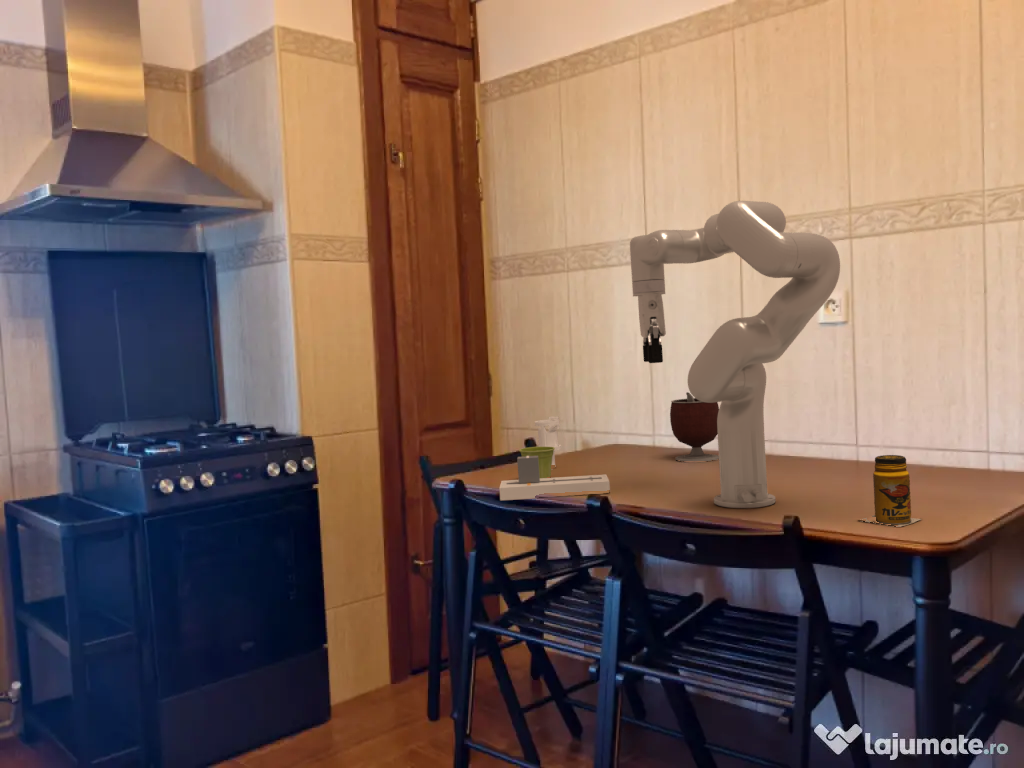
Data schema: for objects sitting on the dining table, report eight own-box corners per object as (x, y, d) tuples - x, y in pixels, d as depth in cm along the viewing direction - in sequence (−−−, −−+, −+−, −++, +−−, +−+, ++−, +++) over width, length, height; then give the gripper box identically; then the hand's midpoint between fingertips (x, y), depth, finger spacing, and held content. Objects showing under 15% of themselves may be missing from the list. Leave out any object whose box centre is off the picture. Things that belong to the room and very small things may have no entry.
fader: (539, 482, 203) (537, 457, 203) (518, 483, 204) (517, 458, 203) (539, 480, 207) (538, 455, 206) (519, 481, 207) (517, 456, 206)
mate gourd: (678, 455, 252) (674, 388, 251) (725, 455, 247) (721, 386, 245) (666, 464, 238) (662, 393, 237) (716, 463, 232) (712, 391, 231)
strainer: (556, 470, 239) (553, 418, 238) (533, 470, 242) (530, 418, 242) (566, 466, 246) (562, 415, 245) (543, 466, 249) (540, 415, 248)
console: (610, 493, 199) (609, 480, 199) (500, 500, 201) (499, 487, 200) (607, 486, 209) (606, 474, 209) (502, 492, 211) (501, 480, 210)
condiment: (900, 528, 150) (897, 460, 149) (856, 521, 157) (853, 457, 156) (922, 520, 154) (919, 455, 153) (878, 514, 161) (875, 452, 160)
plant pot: (527, 478, 230) (525, 446, 230) (561, 477, 227) (558, 445, 227) (516, 484, 221) (514, 451, 221) (551, 484, 218) (548, 450, 218)
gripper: (670, 285, 189) (674, 362, 190) (660, 289, 206) (664, 360, 207) (636, 287, 189) (641, 364, 190) (629, 292, 206) (633, 362, 207)
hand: (653, 362), depth 198 cm, fingers open, 9 cm apart
